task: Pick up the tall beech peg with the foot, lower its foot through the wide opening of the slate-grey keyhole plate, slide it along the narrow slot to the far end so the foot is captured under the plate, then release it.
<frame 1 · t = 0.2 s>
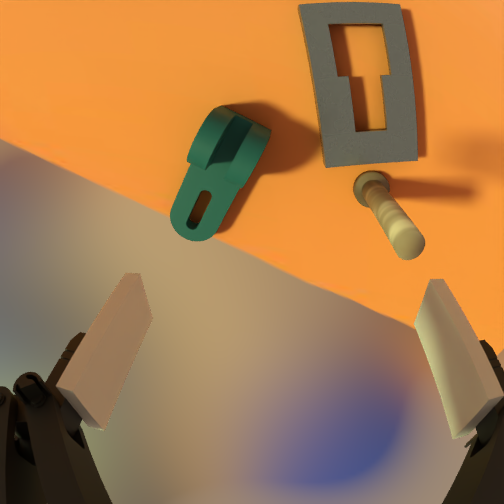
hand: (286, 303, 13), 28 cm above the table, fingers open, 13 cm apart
keyhole plate: (361, 81, 31), on the table
peg: (370, 187, 38), on the table
bracket: (215, 177, 40), on the table
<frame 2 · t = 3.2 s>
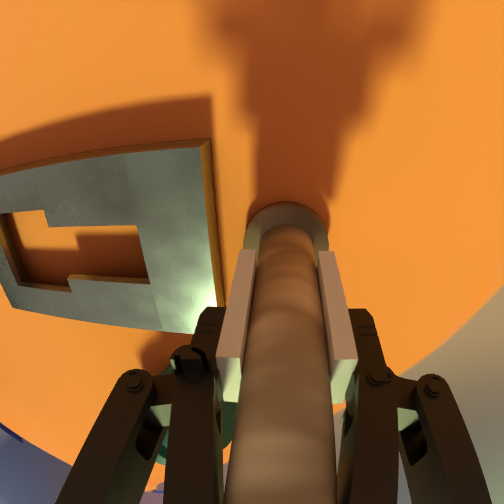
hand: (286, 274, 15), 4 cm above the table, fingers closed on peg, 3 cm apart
keyhole plate: (81, 237, 19), on the table
peg: (285, 239, 18), on the table, touching gripper
bracket: (239, 407, 29), on the table
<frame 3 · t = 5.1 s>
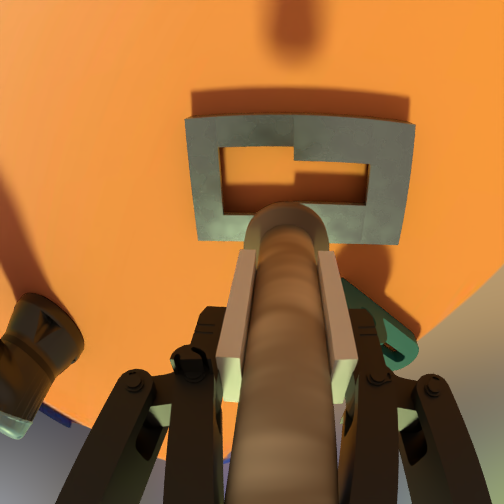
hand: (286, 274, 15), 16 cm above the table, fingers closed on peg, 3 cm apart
keyhole plate: (301, 175, 28), on the table
peg: (286, 239, 18), point 12 cm above the table, touching gripper
bracket: (369, 326, 38), on the table
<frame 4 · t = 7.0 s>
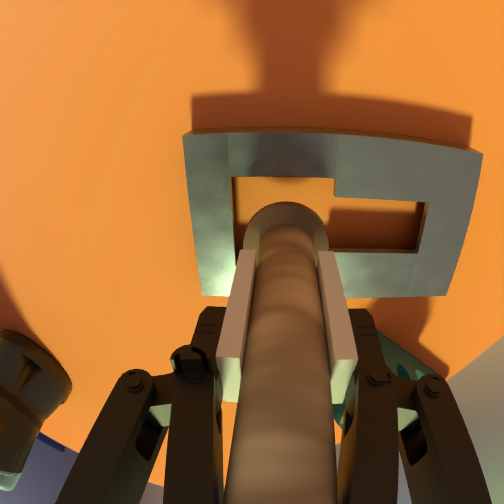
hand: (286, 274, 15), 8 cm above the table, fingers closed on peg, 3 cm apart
keyhole plate: (338, 212, 22), on the table
peg: (285, 239, 18), point 4 cm above the table, touching gripper
bracket: (395, 373, 31), on the table
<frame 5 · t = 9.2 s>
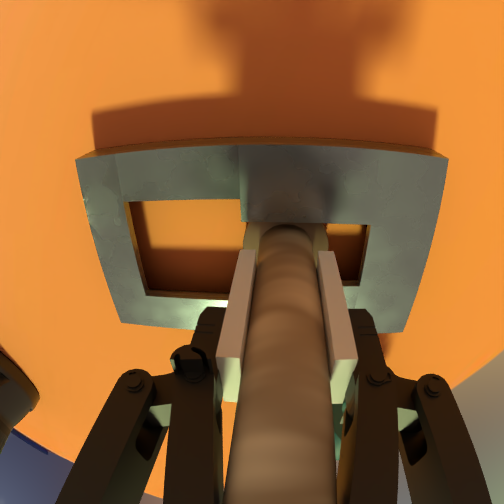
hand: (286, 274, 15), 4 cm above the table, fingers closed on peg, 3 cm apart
keyhole plate: (259, 236, 19), on the table
peg: (285, 239, 18), on the table, touching gripper
bracket: (355, 404, 28), on the table
when the fingers open (4 cm above the table, at t = 10.7 s): peg stays where it is, on the table.
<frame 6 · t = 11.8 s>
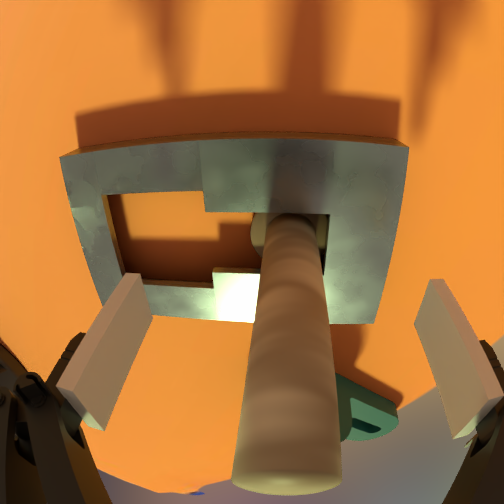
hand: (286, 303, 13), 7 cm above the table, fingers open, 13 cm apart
keyhole plate: (227, 226, 20), on the table
peg: (290, 227, 19), on the table
bracket: (336, 397, 29), on the table
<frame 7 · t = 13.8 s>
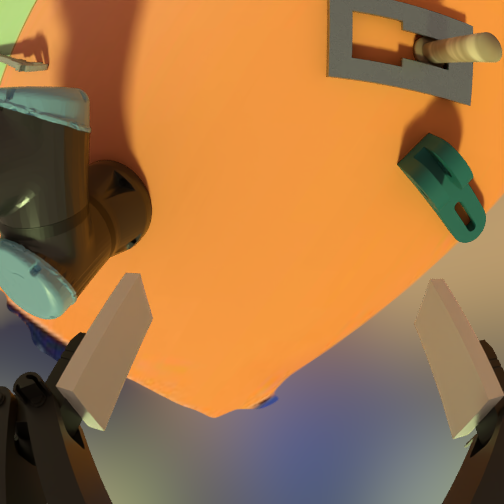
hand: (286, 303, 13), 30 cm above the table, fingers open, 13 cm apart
keyhole plate: (402, 46, 29), on the table
peg: (428, 53, 29), on the table
caliper: (16, 58, 33), on the table
bracket: (445, 191, 39), on the table
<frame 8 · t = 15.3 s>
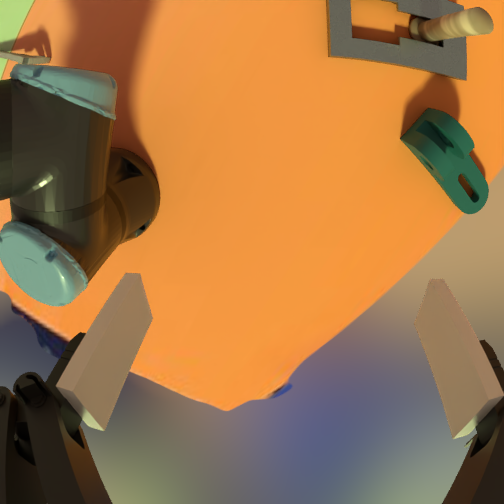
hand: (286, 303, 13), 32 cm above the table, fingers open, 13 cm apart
keyhole plate: (398, 26, 29), on the table
peg: (423, 32, 29), on the table
caliper: (17, 54, 33), on the table
bracket: (448, 164, 39), on the table
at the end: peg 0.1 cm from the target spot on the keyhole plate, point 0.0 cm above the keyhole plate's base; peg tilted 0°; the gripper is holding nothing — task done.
